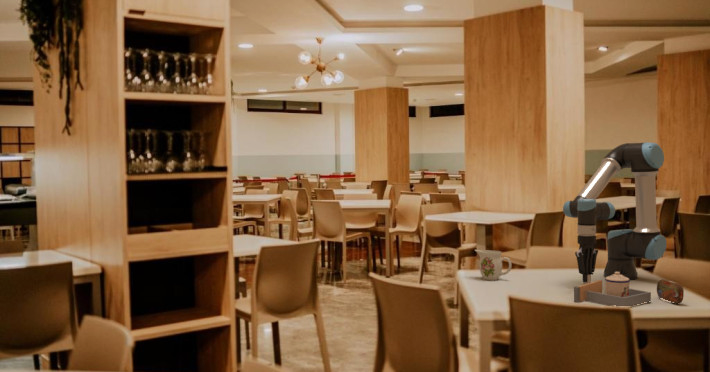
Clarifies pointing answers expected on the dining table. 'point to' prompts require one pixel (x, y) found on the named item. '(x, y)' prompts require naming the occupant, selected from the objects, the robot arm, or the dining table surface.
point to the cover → (590, 289)
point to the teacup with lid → (617, 285)
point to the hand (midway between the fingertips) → (586, 289)
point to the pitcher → (492, 264)
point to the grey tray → (615, 297)
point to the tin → (670, 291)
